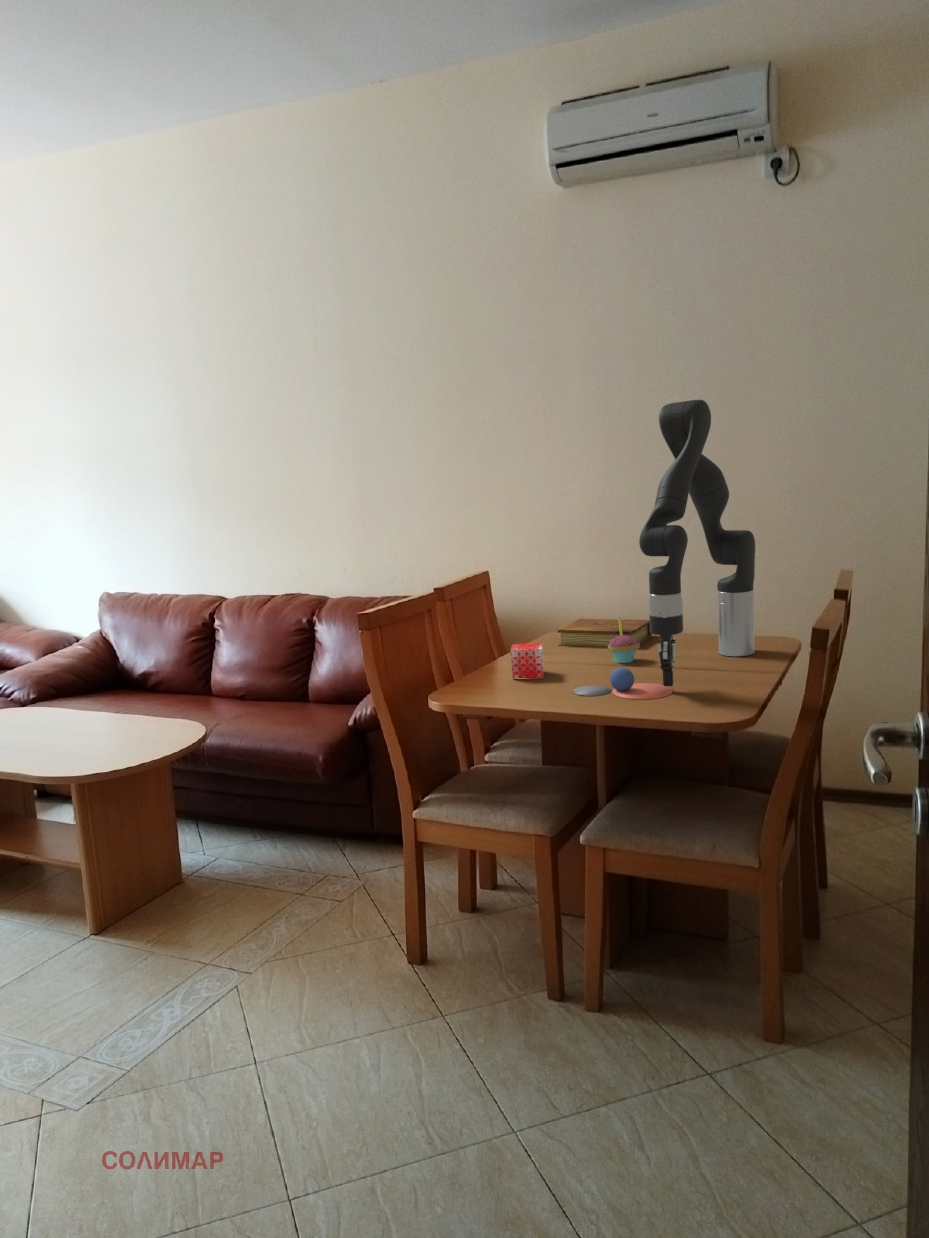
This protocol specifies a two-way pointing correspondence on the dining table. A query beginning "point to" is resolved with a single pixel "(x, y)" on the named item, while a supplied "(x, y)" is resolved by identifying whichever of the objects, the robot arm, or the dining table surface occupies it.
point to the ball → (622, 679)
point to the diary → (602, 632)
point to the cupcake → (623, 647)
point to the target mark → (644, 691)
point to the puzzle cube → (527, 660)
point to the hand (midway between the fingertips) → (668, 685)
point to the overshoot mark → (592, 690)
